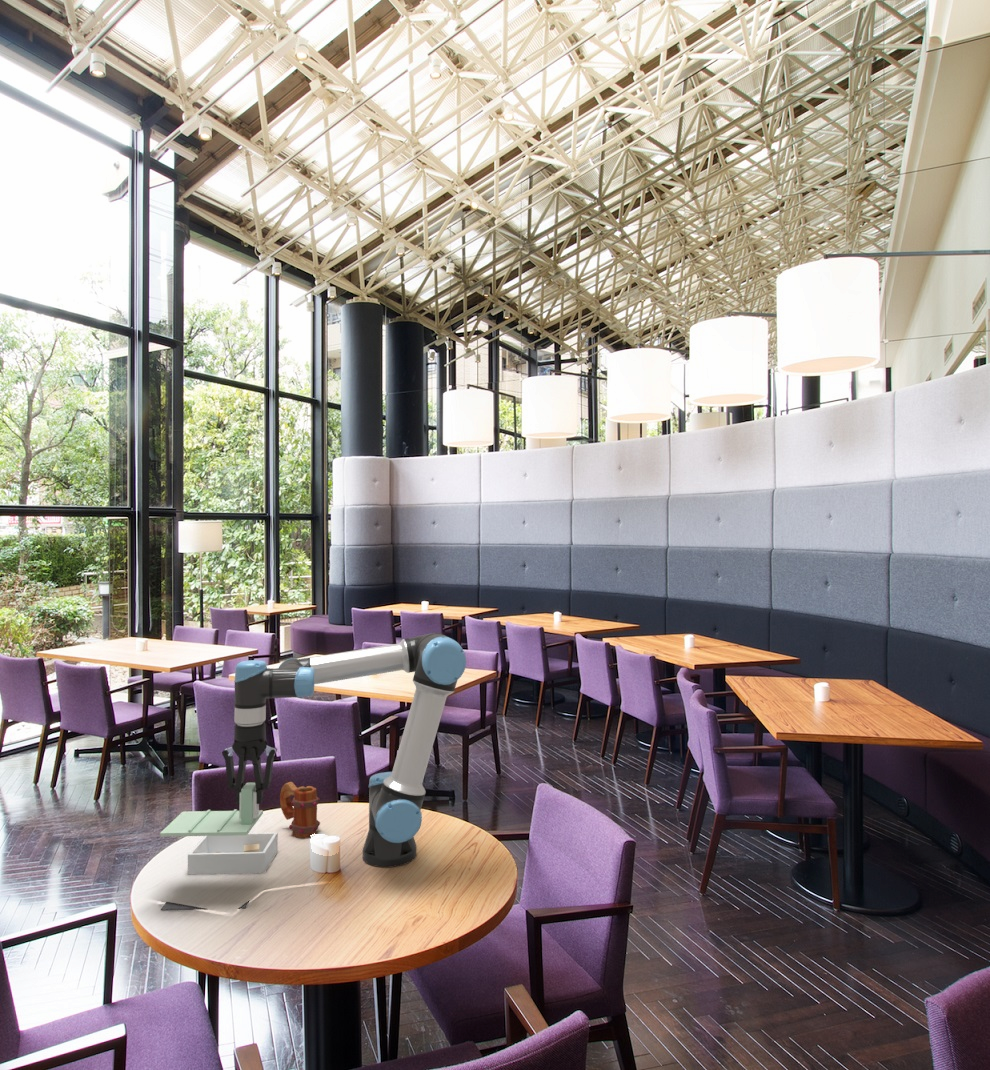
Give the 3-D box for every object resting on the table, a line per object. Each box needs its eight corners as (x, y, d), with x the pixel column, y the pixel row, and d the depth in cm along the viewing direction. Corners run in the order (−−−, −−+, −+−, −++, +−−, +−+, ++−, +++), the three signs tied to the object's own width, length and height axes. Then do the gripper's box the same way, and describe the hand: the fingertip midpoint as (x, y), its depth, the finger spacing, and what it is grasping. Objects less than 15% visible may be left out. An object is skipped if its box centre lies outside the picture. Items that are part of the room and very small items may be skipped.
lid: (262, 813, 192) (263, 776, 192) (246, 835, 177) (247, 795, 177) (182, 814, 191) (183, 777, 191) (159, 836, 176) (160, 796, 176)
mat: (261, 880, 192) (261, 878, 192) (245, 908, 177) (245, 906, 177) (184, 881, 191) (184, 880, 191) (160, 910, 176) (160, 908, 176)
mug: (326, 835, 222) (326, 785, 222) (305, 844, 215) (306, 792, 215) (292, 825, 230) (292, 777, 230) (271, 833, 223) (272, 784, 223)
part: (259, 854, 206) (259, 843, 206) (259, 860, 202) (259, 849, 202) (244, 856, 205) (244, 845, 205) (243, 862, 201) (243, 851, 201)
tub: (277, 853, 208) (277, 832, 208) (264, 875, 194) (264, 853, 194) (205, 855, 207) (206, 833, 207) (187, 877, 193) (187, 854, 193)
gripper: (285, 719, 189) (284, 810, 188) (223, 719, 188) (222, 811, 188) (277, 726, 181) (277, 821, 181) (213, 726, 181) (212, 822, 180)
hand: (249, 816), depth 184 cm, fingers closed on lid, 3 cm apart
